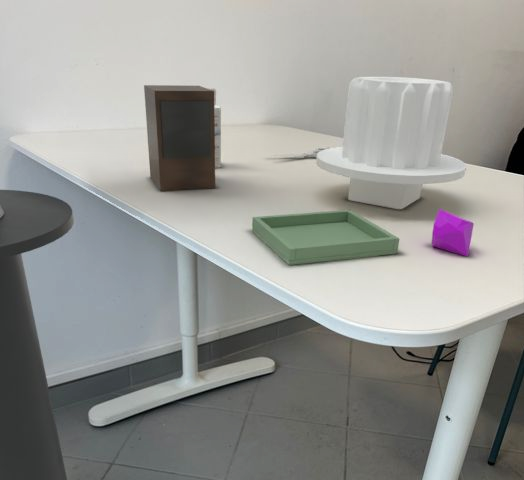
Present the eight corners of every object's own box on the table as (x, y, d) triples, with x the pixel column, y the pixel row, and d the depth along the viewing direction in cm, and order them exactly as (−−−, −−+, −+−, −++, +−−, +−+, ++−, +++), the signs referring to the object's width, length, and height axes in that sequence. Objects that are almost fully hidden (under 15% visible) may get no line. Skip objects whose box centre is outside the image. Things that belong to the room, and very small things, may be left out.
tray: (288, 265, 66) (289, 249, 65) (252, 231, 77) (252, 216, 76) (397, 253, 71) (399, 238, 70) (348, 223, 82) (349, 209, 81)
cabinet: (161, 191, 94) (154, 90, 86) (150, 178, 103) (143, 85, 94) (215, 188, 97) (214, 91, 89) (201, 175, 106) (199, 85, 98)
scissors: (355, 154, 126) (284, 160, 116) (355, 158, 126) (284, 164, 117) (328, 147, 133) (259, 151, 124) (328, 150, 134) (259, 155, 125)
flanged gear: (431, 230, 80) (459, 90, 71) (287, 201, 92) (294, 77, 82) (473, 196, 99) (500, 82, 89) (349, 176, 110) (360, 72, 100)
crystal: (427, 251, 72) (434, 217, 70) (432, 239, 77) (439, 207, 74) (467, 257, 71) (476, 223, 68) (470, 245, 75) (478, 212, 73)
